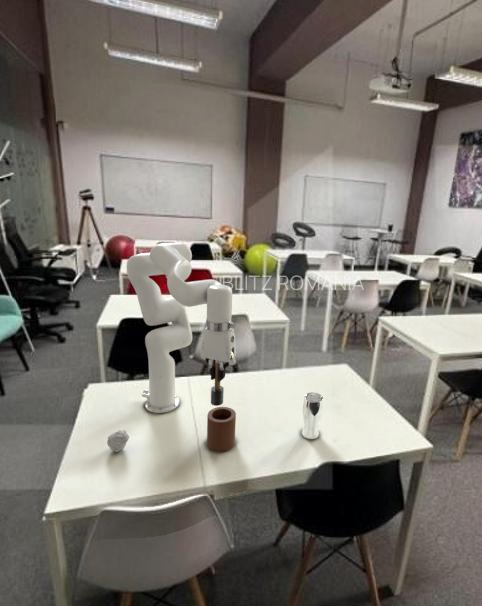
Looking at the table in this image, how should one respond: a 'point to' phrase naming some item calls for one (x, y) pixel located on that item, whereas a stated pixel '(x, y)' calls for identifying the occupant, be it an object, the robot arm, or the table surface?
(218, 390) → the brush
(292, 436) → the table surface
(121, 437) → the grey crumpled ball
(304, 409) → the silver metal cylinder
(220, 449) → the cylindrical holder
